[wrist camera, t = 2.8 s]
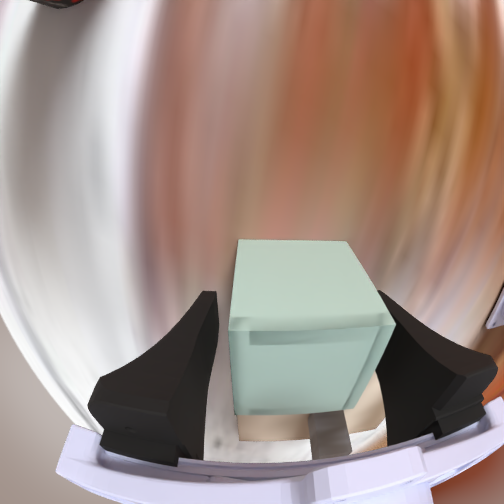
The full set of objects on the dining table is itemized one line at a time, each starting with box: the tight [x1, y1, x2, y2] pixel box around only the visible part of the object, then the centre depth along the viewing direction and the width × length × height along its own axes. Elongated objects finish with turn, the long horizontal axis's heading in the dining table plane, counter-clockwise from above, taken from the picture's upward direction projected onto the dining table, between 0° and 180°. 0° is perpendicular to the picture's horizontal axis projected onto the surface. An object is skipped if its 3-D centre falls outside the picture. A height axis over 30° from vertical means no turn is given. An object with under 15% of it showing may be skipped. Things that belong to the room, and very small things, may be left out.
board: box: [237, 371, 385, 460], centre depth 17 cm, size 14×12×6 cm
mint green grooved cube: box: [228, 240, 396, 415], centre depth 11 cm, size 5×5×6 cm
